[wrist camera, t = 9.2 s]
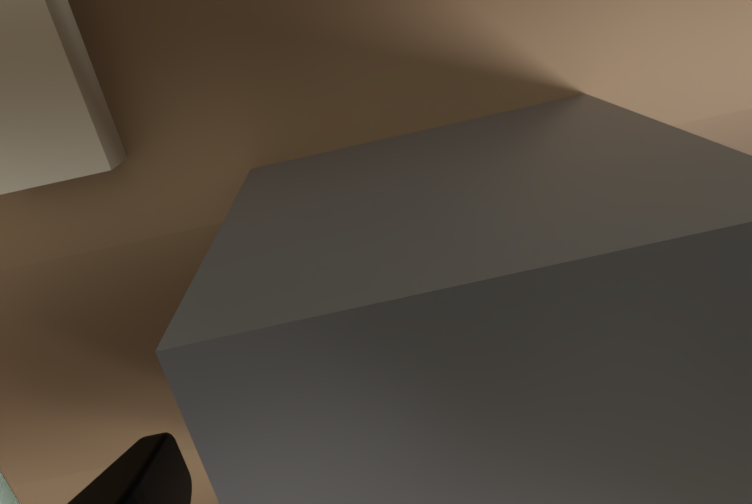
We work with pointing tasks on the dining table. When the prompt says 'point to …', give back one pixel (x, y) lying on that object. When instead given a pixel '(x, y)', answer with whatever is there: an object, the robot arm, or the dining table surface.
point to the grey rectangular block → (479, 319)
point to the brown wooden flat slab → (256, 160)
